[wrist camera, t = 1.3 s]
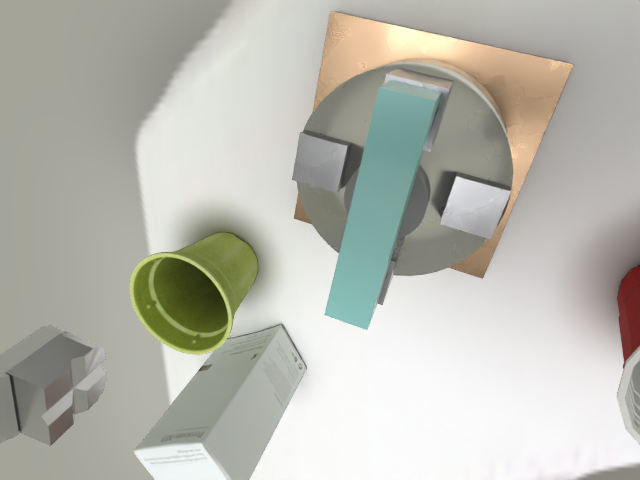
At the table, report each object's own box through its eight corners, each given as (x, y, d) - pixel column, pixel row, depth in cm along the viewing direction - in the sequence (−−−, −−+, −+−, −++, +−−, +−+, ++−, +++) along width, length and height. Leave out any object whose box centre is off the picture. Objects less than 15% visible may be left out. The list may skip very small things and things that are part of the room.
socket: (570, 63, 29) (619, 82, 19) (482, 271, 37) (482, 367, 26) (335, 11, 32) (265, 3, 22) (298, 213, 40) (234, 278, 29)
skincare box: (282, 322, 45) (203, 438, 32) (310, 370, 47) (244, 499, 34) (220, 340, 49) (127, 450, 36) (247, 384, 50) (167, 505, 38)
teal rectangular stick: (464, 92, 23) (460, 107, 18) (400, 289, 28) (385, 336, 24) (379, 71, 23) (356, 81, 19) (333, 266, 29) (307, 308, 25)
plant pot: (172, 225, 45) (110, 265, 37) (253, 204, 41) (201, 244, 33) (210, 306, 47) (159, 359, 40) (288, 294, 44) (248, 349, 36)
